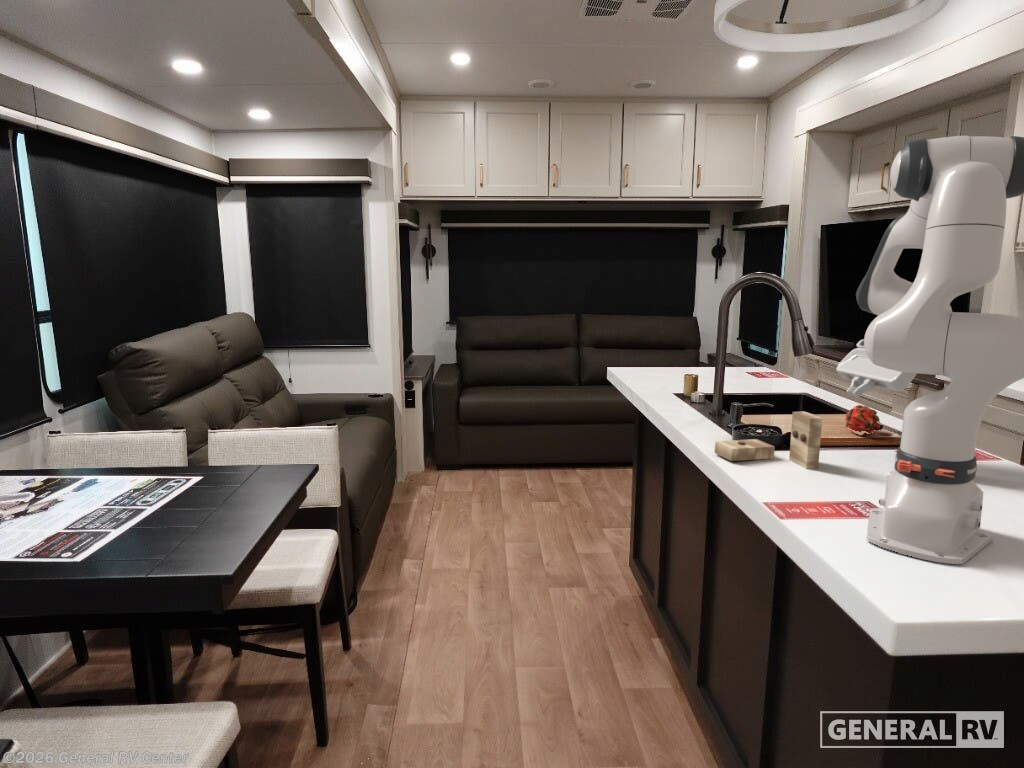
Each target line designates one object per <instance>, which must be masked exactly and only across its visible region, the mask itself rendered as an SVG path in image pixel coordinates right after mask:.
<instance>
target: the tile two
mask: <svg viewBox="0 0 1024 768" xmlns="http://www.w3.org/2000/svg"><path fill="white" fill-rule="evenodd" d="M822 425H823V418H822V417H820V416H817V415H814V414H813V413H810V412H807V411H792V416H791V430H790V431H791V432H790V444H789V445H790V446H789V461H791V462H792V463H794V464H796V465H798V466H800V467H802V468H804V469H805V470H809V469H813V470H814V469H819V463H820V461H819V460H820V453H821V452H820V450H821V438H822V427H823V426H822Z"/></svg>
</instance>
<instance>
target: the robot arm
mask: <svg viewBox="0 0 1024 768" xmlns="http://www.w3.org/2000/svg"><path fill="white" fill-rule="evenodd" d="M890 181H891V184H892V188H893V191H894V192H895V193H896V194H897V195H898V196H899V197H901V198H905V199H910V205H909V208H908V209H907V212H906V213H905V214H900V215H899V216H897V217H896V218H895V219H893V220H892V222H891V223H890V224H889V225H888V227H887V228H886V230H885V232H884V233H883V235H882V237H881V239H880V242H879V245H878V247H877V249H876V251H875V253H874V255H873V258H872V260H871V263H870V265H869V267H868V270H867V271H866V274H865V276H864V277H863V278H862V280H861V282H860V284H859V286H858V288H857V290H856V293H855V297H856V301H857V305H858V308H860V309H861V310H862V311H864V312H867V313H869V314H870V313H871V314H873V315H876V317H875V318H874V319H873V320H872V321H870V324H869V325H868V327H867V329H866V331H865V334H864V338H863V339H860V340H859V341H858V342H857V343H856V347H857V348H854V349H852V350H851V351H850V352H848V353H847V354H846V355H845V356H844V358H843V359H842V360H840V362H839V363H838V364H837V366H836V369H835V370H836V372H837V374H838V375H839V376H840V378H842V379H843V380H847V381H851V384H850V386H849V388H847V390H846V393H847V395H848V396H850V397H855V398H857V399H859V398H860V397H862V395H863V394H865V393H866V392H869V391H871V390H873V389H874V388H876V387H877V388H881V389H885V390H889V391H892V392H893V391H894V392H898V393H899V392H902V391H904V390H905V389H907V387H908V386H909V385H910V383H911V382H912V381H913V380H914V379H915V377H916V376H917V374H920V375H921V374H922V375H933V376H944V377H946V378H949V379H950V380H949V381H950V382H949V385H948V386H947V387H946V388H944V389H942V390H939V391H936V392H932V393H928V394H925V395H923V396H920V397H918V398H915V399H914V400H912V401H911V402H909V403H908V404H907V405H906V407H905V409H904V412H903V419H902V425H901V426H902V428H901V437H900V445H899V446H898V447H897V449H896V453H895V458H894V460H895V462H894V470H892V471H890V472H889V473H886V478H885V479H886V480H885V489H884V490H885V491H884V497H880V498H879V500H878V504H879V506H880V507H873V508H870V510H869V513H868V525H867V535H866V541H867V540H868V541H869V542H868V541H867V542H868V543H870V542H871V543H870V544H872V543H873V544H872V545H874V544H876V545H878V546H877V547H879V546H880V547H879V548H881V547H883V548H882V549H884V548H886V549H885V550H887V549H889V550H888V551H890V550H893V551H895V552H894V553H896V552H898V553H897V554H901V555H904V556H907V555H908V557H911V556H912V557H913V558H916V559H921V560H925V561H930V562H935V563H942V564H949V565H963V564H965V563H966V562H967V561H969V560H970V559H971V558H973V556H975V555H976V554H977V553H979V552H980V551H981V550H982V549H983V548H985V547H986V546H988V545H989V544H990V543H992V542H993V540H992V539H993V536H992V534H991V532H987V531H986V530H984V529H982V528H981V523H982V513H983V500H984V491H983V490H982V488H980V487H979V486H978V485H977V484H976V482H975V481H974V479H975V478H976V472H977V468H978V464H977V462H978V461H977V460H978V459H977V457H976V456H975V455H976V448H977V447H976V446H977V441H978V436H979V431H980V426H981V423H982V420H983V416H984V415H985V412H986V411H987V408H988V407H989V405H990V404H991V403H992V401H993V400H994V399H995V398H996V397H997V396H998V394H1000V393H1001V392H1002V391H1003V390H1005V389H1007V388H1008V387H1009V386H1011V385H1014V383H1016V382H1018V381H1021V380H1023V379H1024V318H1023V317H1020V316H1019V317H1018V316H1013V315H1008V314H1002V313H988V312H987V313H986V312H985V313H984V312H982V313H981V312H961V311H960V312H958V311H957V312H955V311H953V309H952V306H951V303H952V301H953V300H954V299H956V298H957V297H959V296H961V295H965V294H966V293H971V292H972V291H975V290H978V289H980V288H982V287H985V286H986V285H987V284H990V283H991V282H992V281H993V280H994V278H996V276H997V275H998V274H999V271H1000V265H1001V258H1002V249H1003V242H1004V236H1005V228H1006V218H1007V199H1012V198H1017V197H1019V196H1022V195H1023V194H1024V136H1015V135H1011V136H1009V137H1005V136H992V135H991V136H987V135H985V136H983V135H982V136H981V135H980V136H978V135H977V136H975V135H974V136H970V135H954V136H945V137H938V138H931V139H927V138H925V137H924V138H918V139H915V140H911V141H908V142H905V143H904V144H903V145H902V146H901V147H900V148H899V149H898V153H896V156H895V157H894V159H893V161H892V164H891V168H890ZM904 249H920V250H922V253H921V257H920V261H919V267H918V270H917V273H916V277H915V279H914V281H913V282H911V281H908V280H907V279H905V278H902V277H900V276H899V275H898V274H896V272H895V268H896V265H897V263H898V260H899V258H900V257H901V254H902V252H903V250H904ZM881 506H882V507H881ZM876 545H875V546H876ZM893 551H892V552H893Z"/></svg>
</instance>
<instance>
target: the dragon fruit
mask: <svg viewBox="0 0 1024 768" xmlns="http://www.w3.org/2000/svg"><path fill="white" fill-rule="evenodd" d="M877 414H878V412H877V411H876V410H875V409H871V408H869V406H867V405H862V404H861V405H860V404H859V405H858V404H857V405H855V406H854V407H852V408H851V409H850V410H848V411H847V412H846V416H845V421H846V422H845V428H846V427H849V428H850V429H852V430H855V431H859V432H861V431H866V432H868V433H872V432H873V433H875V431H881V430H883V428H884V425H883V424H881V421H880V420H881V419H880V417H879V415H877ZM874 430H875V431H874ZM873 433H872V434H873Z"/></svg>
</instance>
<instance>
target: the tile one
mask: <svg viewBox="0 0 1024 768" xmlns="http://www.w3.org/2000/svg"><path fill="white" fill-rule="evenodd" d="M714 443H715V444H714V454H716V455H717V456H720V457H721V458H724V459H726V460H728V461H730V462H735V461H737V462H738V461H754V460H771V459H772V460H773V459H774V458H775V449H776V447H775V446H774V445H772V444H770V443H767V442H764V441H762V440H760V439H757V438H754V439H750V438H749V439H732V440H731V439H729V440H715V442H714Z"/></svg>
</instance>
